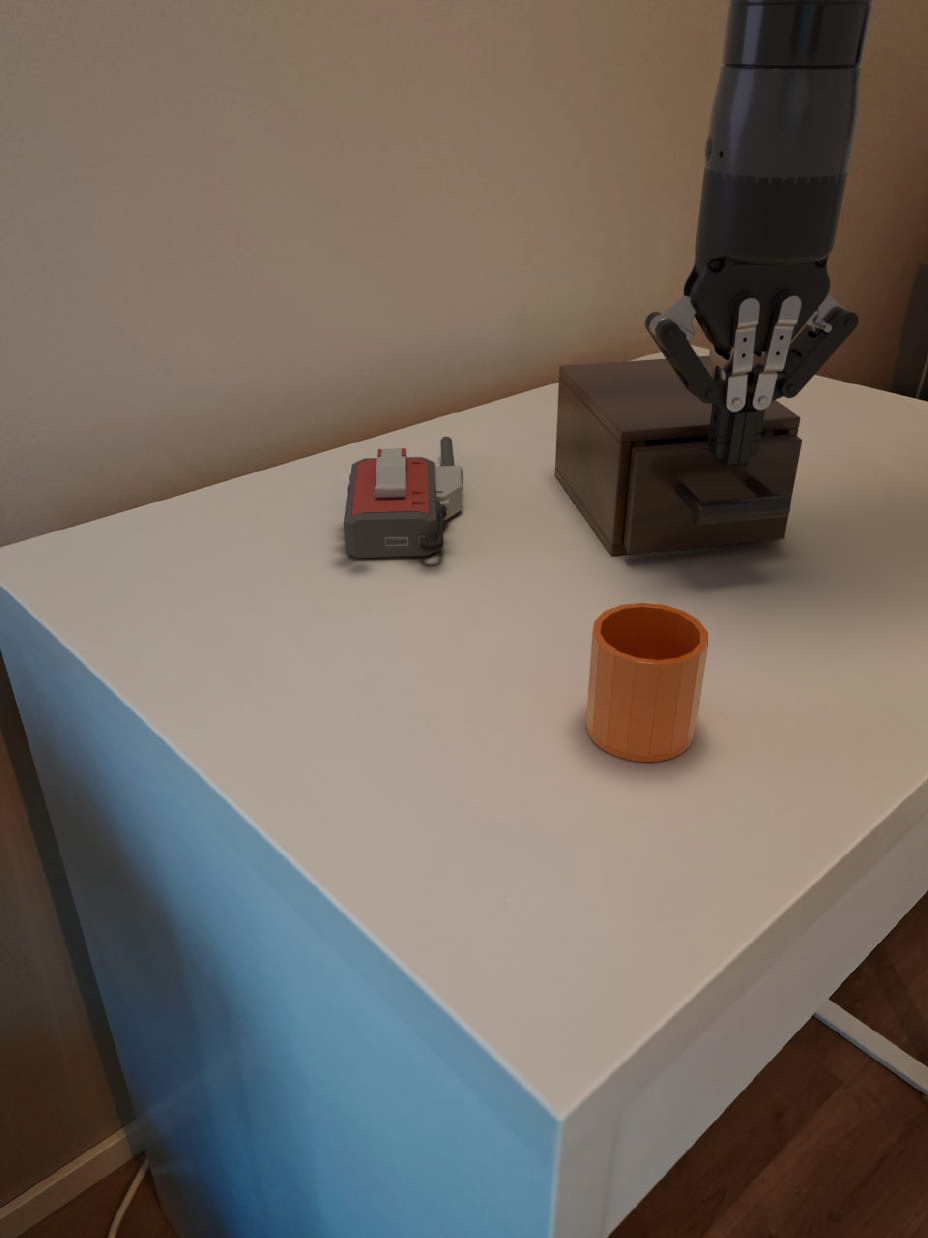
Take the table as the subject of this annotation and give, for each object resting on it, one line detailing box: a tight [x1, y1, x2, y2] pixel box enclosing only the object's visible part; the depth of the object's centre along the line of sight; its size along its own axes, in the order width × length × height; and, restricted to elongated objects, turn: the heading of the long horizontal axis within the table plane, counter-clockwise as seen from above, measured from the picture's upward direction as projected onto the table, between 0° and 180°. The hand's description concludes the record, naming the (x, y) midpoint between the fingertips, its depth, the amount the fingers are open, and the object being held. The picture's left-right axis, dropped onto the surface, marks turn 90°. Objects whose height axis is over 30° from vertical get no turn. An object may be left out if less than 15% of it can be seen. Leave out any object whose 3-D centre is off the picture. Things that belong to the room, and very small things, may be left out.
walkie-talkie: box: [343, 436, 464, 559], centre depth 73 cm, size 9×4×20 cm
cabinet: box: [554, 355, 801, 557], centre depth 72 cm, size 15×13×9 cm
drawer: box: [623, 430, 803, 555], centre depth 68 cm, size 18×11×7 cm, turn 11°
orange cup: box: [585, 602, 709, 763], centre depth 49 cm, size 6×6×6 cm
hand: (730, 462), depth 61 cm, fingers closed
